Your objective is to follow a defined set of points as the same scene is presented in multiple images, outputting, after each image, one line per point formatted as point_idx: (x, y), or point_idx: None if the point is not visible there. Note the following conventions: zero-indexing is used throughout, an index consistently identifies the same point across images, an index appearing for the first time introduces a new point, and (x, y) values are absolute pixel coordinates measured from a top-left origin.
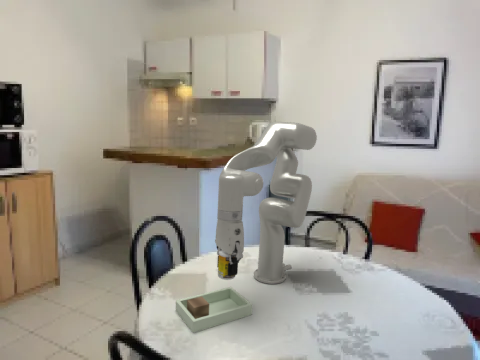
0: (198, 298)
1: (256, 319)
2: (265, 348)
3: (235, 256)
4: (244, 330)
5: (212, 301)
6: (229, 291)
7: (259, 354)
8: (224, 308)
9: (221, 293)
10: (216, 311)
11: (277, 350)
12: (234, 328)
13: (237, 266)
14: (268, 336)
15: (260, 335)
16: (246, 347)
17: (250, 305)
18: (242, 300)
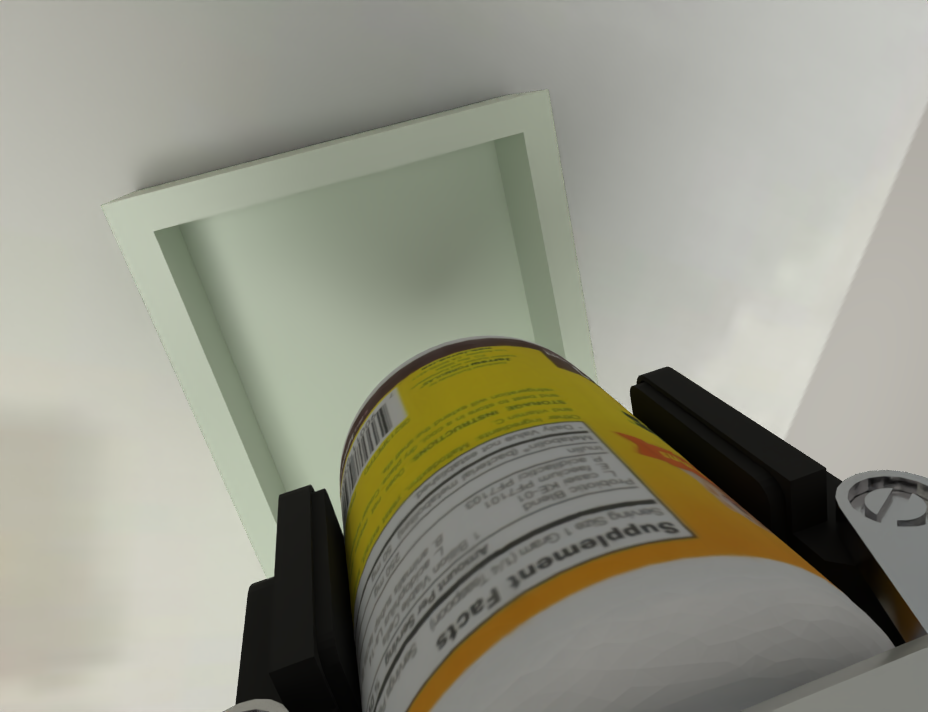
0: None
1: (550, 65)
2: (853, 142)
3: (919, 627)
4: (648, 217)
5: (244, 395)
6: (162, 230)
7: (877, 201)
8: (365, 308)
9: (201, 327)
10: None
11: (900, 68)
12: (605, 282)
13: (754, 428)
14: (766, 63)
15: (736, 120)
16: (798, 259)
17: (552, 114)
18: (423, 158)
